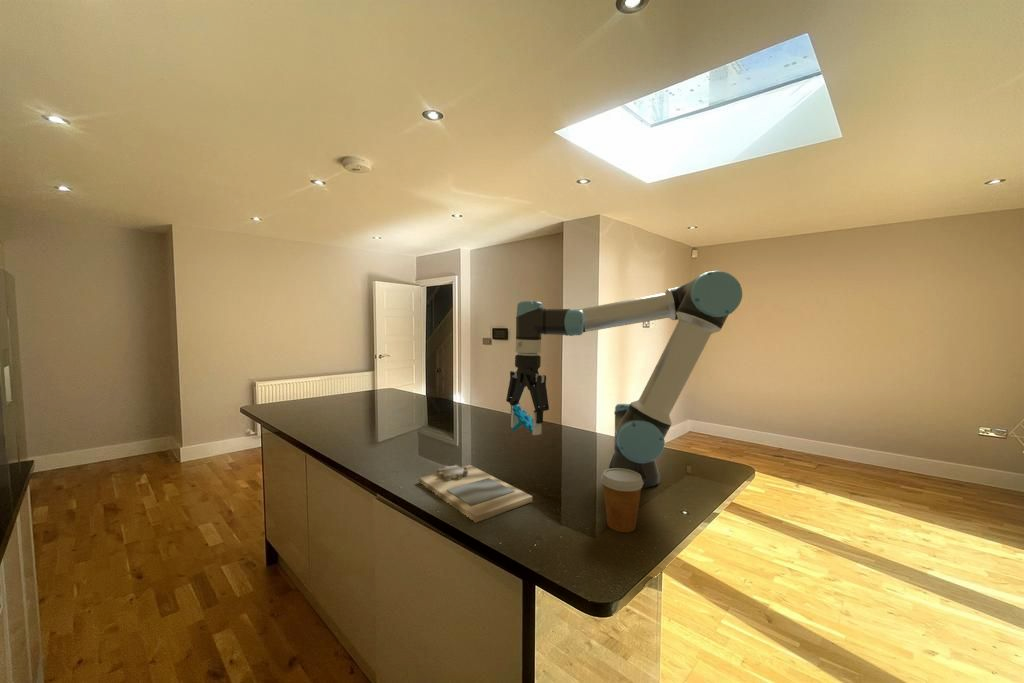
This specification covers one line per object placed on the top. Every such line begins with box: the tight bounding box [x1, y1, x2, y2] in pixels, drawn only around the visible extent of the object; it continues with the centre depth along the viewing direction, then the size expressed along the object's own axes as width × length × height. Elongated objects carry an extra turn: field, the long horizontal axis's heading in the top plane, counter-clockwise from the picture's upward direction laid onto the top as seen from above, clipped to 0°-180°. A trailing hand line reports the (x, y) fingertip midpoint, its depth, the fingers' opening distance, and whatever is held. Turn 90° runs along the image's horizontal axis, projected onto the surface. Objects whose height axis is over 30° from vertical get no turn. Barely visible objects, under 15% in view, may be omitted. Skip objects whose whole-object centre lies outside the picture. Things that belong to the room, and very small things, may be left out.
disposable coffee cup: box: [600, 468, 644, 533], centre depth 88 cm, size 10×10×12 cm
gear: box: [511, 404, 533, 434], centre depth 112 cm, size 11×6×10 cm
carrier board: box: [418, 464, 533, 523], centre depth 106 cm, size 31×18×3 cm, turn 39°
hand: (525, 430), depth 111 cm, fingers closed on gear, 9 cm apart
